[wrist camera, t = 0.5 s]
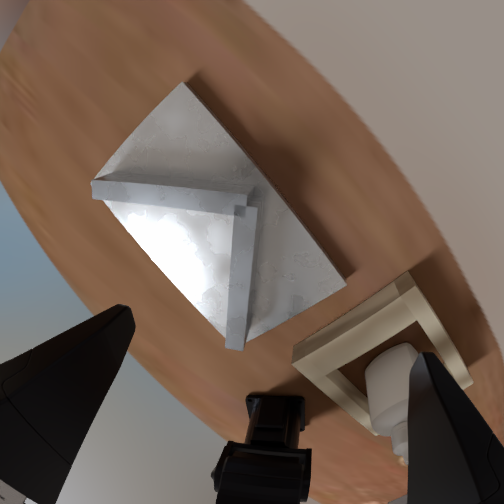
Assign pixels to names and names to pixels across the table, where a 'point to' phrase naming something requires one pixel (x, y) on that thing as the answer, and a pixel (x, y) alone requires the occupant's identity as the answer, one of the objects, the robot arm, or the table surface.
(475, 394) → the table surface
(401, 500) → the perfume bottle
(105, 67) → the table surface
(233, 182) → the silver tray
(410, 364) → the eye dropper bottle
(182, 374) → the table surface
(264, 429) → the robot arm
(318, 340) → the beige square frame
